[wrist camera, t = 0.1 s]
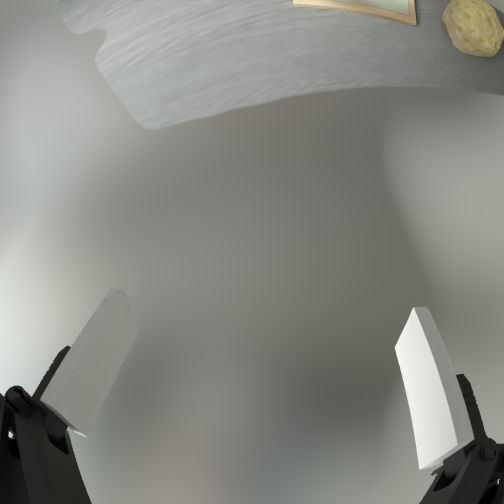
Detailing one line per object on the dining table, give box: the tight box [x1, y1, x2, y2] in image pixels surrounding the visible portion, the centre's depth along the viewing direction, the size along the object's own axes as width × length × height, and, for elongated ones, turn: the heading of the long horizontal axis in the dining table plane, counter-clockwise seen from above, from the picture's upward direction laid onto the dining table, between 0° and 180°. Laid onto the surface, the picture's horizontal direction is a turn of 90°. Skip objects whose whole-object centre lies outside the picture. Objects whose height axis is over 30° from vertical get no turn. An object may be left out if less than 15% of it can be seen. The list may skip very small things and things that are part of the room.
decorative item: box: [442, 0, 504, 57], centre depth 17 cm, size 10×10×10 cm
